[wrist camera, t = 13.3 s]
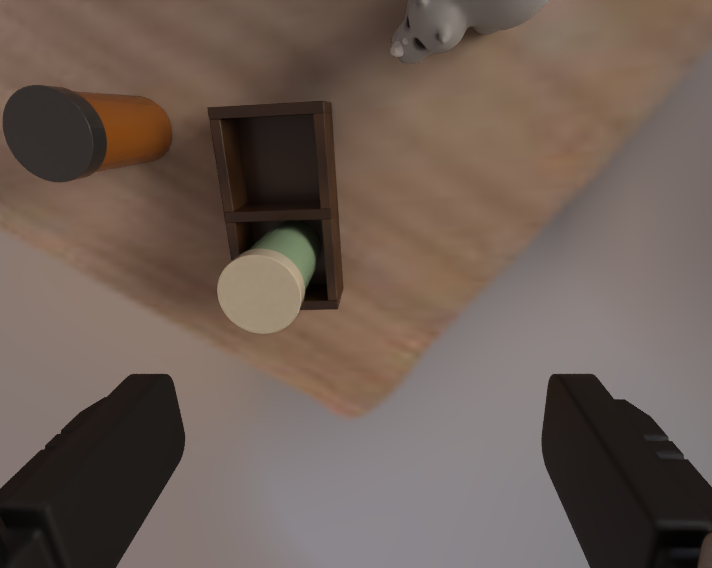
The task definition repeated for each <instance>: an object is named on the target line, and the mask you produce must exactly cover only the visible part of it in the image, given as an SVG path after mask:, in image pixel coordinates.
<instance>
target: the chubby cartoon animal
mask: <svg viewBox="0 0 712 568" xmlns="http://www.w3.org/2000/svg"><path fill="white" fill-rule="evenodd" d="M548 1H549V0H408V2H407V7H406V15H405V19H404V21H403V22H402V23H401V24H400V25H399V26H398V27H397V29H396V31H395V33H394V36H393V38H392V39H391V43H392V47H391V49H390V52H391V54H392V55H393V56H396V57H398V58H399V59H400V61H401V62H402V63H406V64H416V63H419V62H420V61H422V60H423V59H425V58H426V57H427V56H429V55H432V54H437V53H443V52H446V51H449V50H451V49H452V48H454V47H455V46H456V45H457V44H458V43H459V42H460V40H461V39H462V37H463V35H464V33H465V31H466V29H467V28H469V27H471V26H472V28H473V29H474V30H475V31H476V32H478V33H480V34H485V35H487V34H492V33H494V32H496V31H498V30H505V29H509V28H512V27H515V26H518V25H520V24H522V23H524V22H525V21H527V20H529V19H530V18H531V17H533V16H534V15H535V14H536V13H538V12H539V11H540V10H541V9H542V8H543V7H544V5H545V4H546V3H547V2H548Z"/></svg>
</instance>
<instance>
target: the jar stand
mask: <svg viewBox="0 0 712 568" xmlns="http://www.w3.org/2000/svg"><path fill="white" fill-rule="evenodd" d="M208 114H209V119H211V120H210V126H211V132H212V138H213V145H214V151H215V158H216V164H217V170H218V177H219V183H220V190H221V196H222V202H223V209H224V212H225V213H224V216H225V222H226V228H227V235H228V241H229V247H230V254H231V260H234V259H235V258H236V257H237V256H238V255H240V254H242V253H243V252H246V251H247V250H248V249H249V248H251V247H252V246H253V245H254V244H255V243H256V242H257V241H258V240H259V239H260V238H261V237H262V236H263V235H264V234H265V233H266V232H267V231H268V230H269V229H270V228H271V227H272V226H274V225H275V224H277V223H279V222H281V221H287V220H296V221H300V222H303V223H305V224H307V225H308V226H310V227H311V228H312V229H313V230H314V231H315V232H316V234H317V235H318V237H319V239H320V242H321V247H322V254H321V258H320V261H319V263H318V265H317V267H316V269H315V272H314V274H313V276H312V278H311V280H310V282H309V284H308V286H307V288H306V290H305V296H304V300H303V303H302V305H301V308H300V310H322V309H338V307H339V303H340V299H341V295H342V292H343V277H342V261H341V246H340V231H339V215H338V200H337V185H336V169H335V154H334V139H333V123H332V108H331V103H330V102H325V101H313V102H296V103H278V104H261V105H244V106H226V107H209V108H208Z"/></svg>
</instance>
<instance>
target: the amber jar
mask: <svg viewBox="0 0 712 568" xmlns="http://www.w3.org/2000/svg"><path fill="white" fill-rule="evenodd" d="M3 131H4V135H5V139H6V141H7V144H8V146H9V148H10V150H11V152H12V153H13V155H14V156H15V158H16V159H17V160H18V161H19V162H20V163H21V164H22V166H24V167H25V168H26V169H27V170H28V171H30V172H31V173H32V174H34V175H36V176H38V177H40V178H42V179H45V180H48V181H53V182H67V181H72V180H77V179H81V178H85V177H88V176H90V175H91V174H93V173H95V172H100V171H105V170H110V169H115V168H121V167H126V166H131V165H136V164H141V163H146V162H151V161H155V160H157V159H159V158H161V157H162V156H163V155H164V154H165V153H166V152H167V150H168V149H169V146H170V144H171V139H172V130H171V125H170V122H169V119H168V117H167V115H166V114H165V112H164V111H163V110H162V109H161V107H160V106H158V105H157V104H156V103H155V102H153V101H152V100H150V99H148V98H145V97H141V96H131V95H117V94H104V93H90V92H76V91H71V90H69V89H66V88H63V87H56V86H44V85H31V86H27V87H24V88H21V89H20V90H18V91H16V92H15V93H14V94H13V95H12V96H11V97H10V98H9V100H8V102H7V104H6V106H5V109H4V112H3Z"/></svg>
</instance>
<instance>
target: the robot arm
mask: <svg viewBox="0 0 712 568" xmlns="http://www.w3.org/2000/svg"><path fill="white" fill-rule="evenodd" d="M184 446H185V432H184V427H183V423H182V418H181V414H180V409H179V405H178V400H177V396H176V391H175V387H174V383H173V380H172V378H171V377H170V376H169V375H168V374H131V375H129V376H128V377H127V378H126V379H125V380H123V382H121V384H119V385H118V386H117V387H116V389H115V390H113V391H112V393H110V395H108V396H107V397H104V398H103V399H101V400H99V401H98V402H96V403H94V404H93V405H91V406H90V407H88V408H86V409H85V410H83V411H81V412H80V413H79V414H78V415H77V416H76V417H75V418H73V420H71V421H70V422H69V423H68V424H67V425H66V426H65V427H64V428H63V429H62V430H61V434H57V435H56V436H55V437H54V438H53V439H52V440H51V441H50V442H48V444H46V445H45V449H44V450H40V451H39V452H38V453H37V454H36V455H35V456H34V457H33V458H32V459H31V460H30V461H29V462H28V463H27V464H26V465H25V466H23V467H22V468H21V469H20V470H19V471H18V472H17V473H16V474H15V475H14V476H13V477H12V478H11V479H10V480H9V481H8V482H7V483H6V484H5V485H4V486H3V487H2V488H1V489H0V568H116V567H117V565H118V563H119V561H120V560H121V558H122V557H123V554H124V553H125V552H126V550H127V548H128V547H129V545H130V543H131V542H132V540H133V538H134V537H135V535H136V533H137V532H138V530H139V528H140V527H141V525H142V523H143V522H144V520H145V518H146V517H147V515H148V513H149V512H150V510H151V509H152V507H153V505H154V504H155V502H156V500H157V499H158V497H159V495H160V494H161V492H162V490H163V489H164V487H165V485H166V484H167V482H168V480H169V479H170V477H171V476H172V474H173V472H174V471H175V469H176V467H177V465H178V464H179V462H180V460H181V457H182V455H183V451H184ZM542 453H543V458H544V462H545V466H546V469H547V471H548V473H549V476H550V478H551V480H552V482H553V485H554V487H555V489H556V491H557V494H558V496H559V498H560V500H561V503H562V505H563V507H564V509H565V512H566V514H567V516H568V518H569V521H570V523H571V525H572V528H573V530H574V532H575V534H576V537H577V539H578V541H579V543H580V546H581V548H582V550H583V552H584V555H585V557H586V559H587V561H588V564H589V566H590V568H712V487H711V486H710V485H709V484H708V482H707V481H706V480H705V479H704V478H703V477H702V476H701V474H700V473H699V472H698V471H697V470H696V469H695V467H694V466H693V465H692V464H691V463H690V462H689V460H687V459H684V455H683V453H682V452H681V451H680V450H679V449H678V448H677V447H676V445H675V444H674V443H673V442H672V441H669V440H668V436H667V435H666V434H665V433H664V432H663V430H662V429H661V428H660V427H659V426H658V425H657V423H656V422H655V421H654V420H653V419H652V418H651V417H650V416H649V415H647V414H646V413H644V412H643V411H641V410H640V409H638V408H637V407H635V406H634V405H632V404H631V403H629V402H628V401H626V400H619V399H617V400H616V399H613V397H612V396H611V395H610V393H609V392H608V391H607V390H606V389H605V387H604V386H603V385H602V383H601V382H600V381H599V380H598V378H597V377H596V376H595V375H593V374H553V375H552V376H551V377H550V379H549V383H548V389H547V397H546V405H545V413H544V421H543V429H542Z"/></svg>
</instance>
